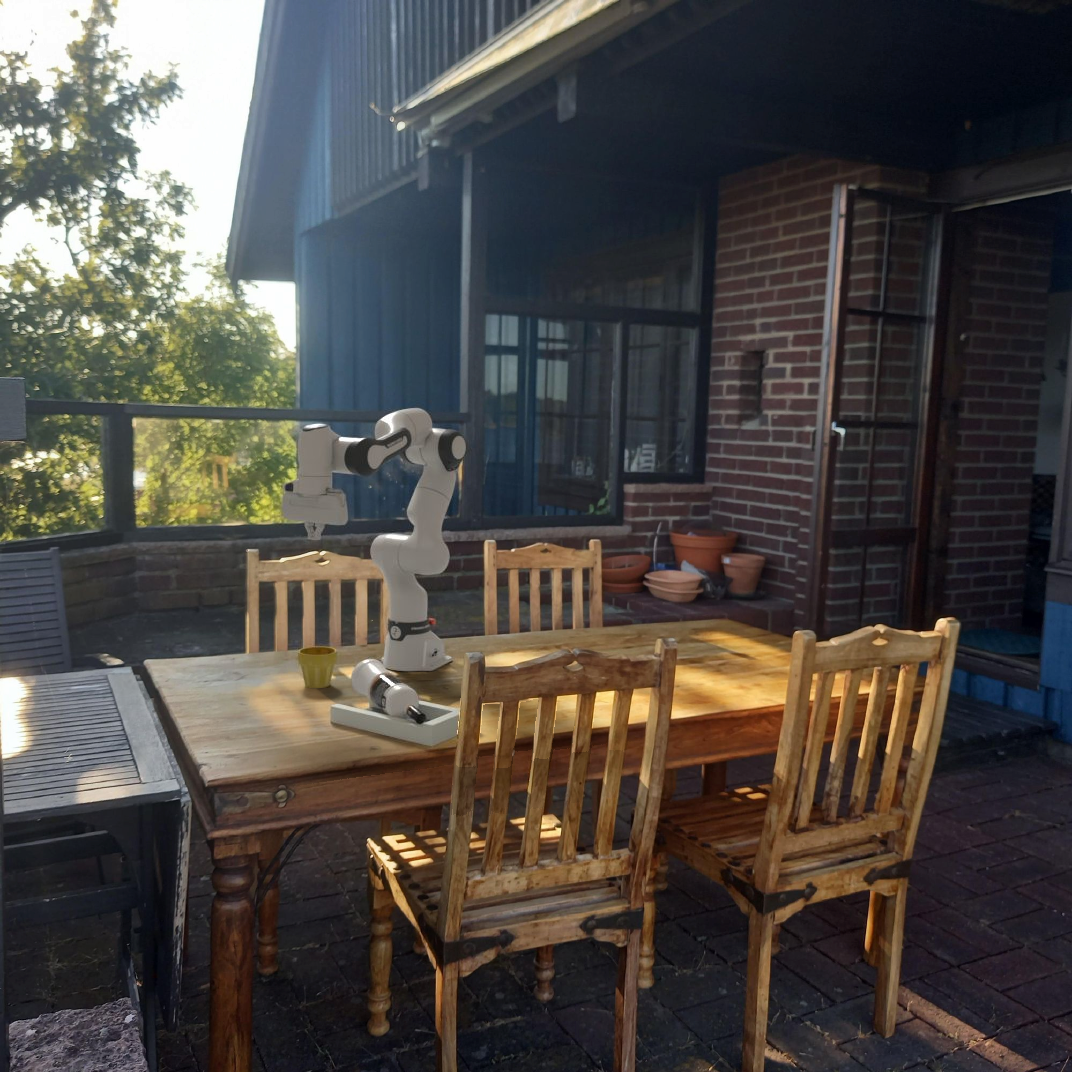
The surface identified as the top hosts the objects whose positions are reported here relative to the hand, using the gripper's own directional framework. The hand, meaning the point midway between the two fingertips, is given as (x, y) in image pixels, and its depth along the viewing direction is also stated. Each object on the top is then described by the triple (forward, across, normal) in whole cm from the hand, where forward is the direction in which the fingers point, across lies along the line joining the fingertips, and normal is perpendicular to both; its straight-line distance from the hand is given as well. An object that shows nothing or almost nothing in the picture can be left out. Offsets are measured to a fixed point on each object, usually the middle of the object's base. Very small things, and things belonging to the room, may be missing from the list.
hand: (314, 539), depth 272 cm
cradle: (+41, -36, +8) cm, 55 cm away
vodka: (+32, -20, +2) cm, 38 cm away
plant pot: (+41, +4, -6) cm, 42 cm away
